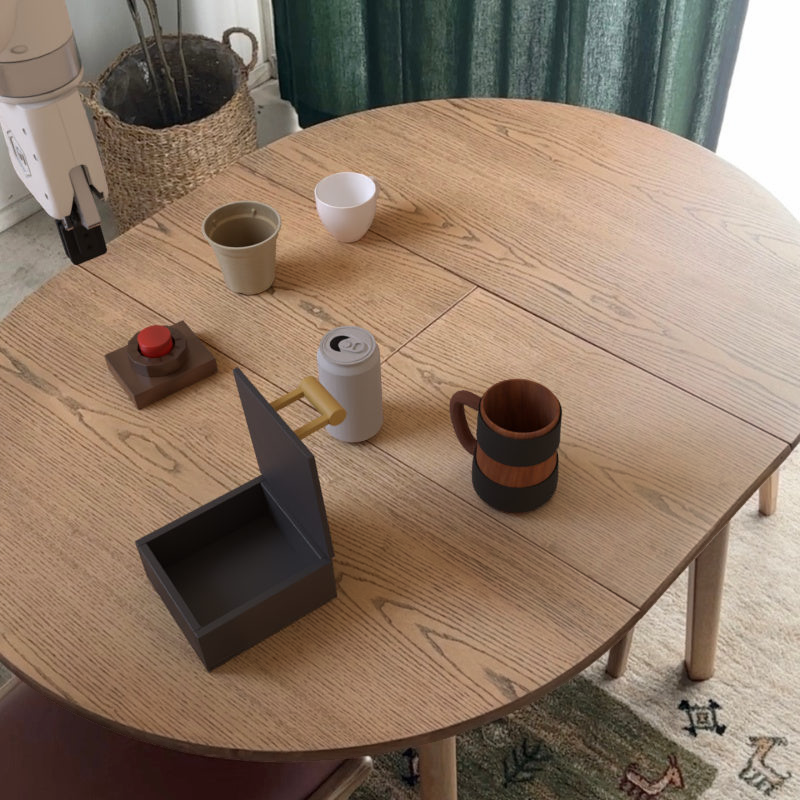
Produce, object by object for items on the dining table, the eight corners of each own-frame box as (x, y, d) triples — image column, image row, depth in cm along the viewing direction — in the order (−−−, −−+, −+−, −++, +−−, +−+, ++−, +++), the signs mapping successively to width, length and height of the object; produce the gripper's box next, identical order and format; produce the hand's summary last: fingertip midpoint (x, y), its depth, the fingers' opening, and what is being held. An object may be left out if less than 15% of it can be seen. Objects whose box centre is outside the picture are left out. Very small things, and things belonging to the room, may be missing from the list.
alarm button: (149, 363, 117) (146, 351, 115) (135, 345, 119) (131, 333, 117) (178, 349, 118) (175, 338, 117) (164, 331, 120) (161, 320, 119)
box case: (208, 673, 94) (197, 638, 90) (147, 577, 101) (134, 541, 97) (337, 596, 99) (332, 560, 95) (270, 510, 107) (263, 473, 102)
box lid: (308, 459, 84) (369, 424, 86) (231, 369, 91) (290, 339, 93) (329, 560, 95) (384, 526, 97) (260, 472, 102) (311, 443, 104)
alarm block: (138, 410, 117) (130, 384, 114) (108, 369, 121) (100, 343, 118) (218, 372, 120) (212, 346, 118) (186, 333, 125) (180, 308, 122)
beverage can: (339, 397, 117) (331, 316, 108) (393, 412, 115) (389, 331, 107) (314, 437, 113) (304, 356, 104) (369, 453, 111) (363, 372, 103)
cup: (306, 236, 137) (301, 193, 132) (356, 199, 143) (353, 156, 138) (351, 259, 134) (348, 215, 129) (401, 220, 139) (400, 177, 134)
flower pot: (304, 274, 132) (297, 217, 126) (253, 315, 127) (243, 258, 121) (248, 247, 136) (239, 191, 130) (197, 286, 131) (185, 229, 125)
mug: (471, 428, 113) (473, 348, 105) (571, 474, 109) (582, 395, 100) (427, 480, 109) (426, 402, 100) (530, 532, 104) (538, 453, 95)
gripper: (-54, 37, 82) (15, 229, 95) (16, 120, 73) (81, 318, 87) (38, 9, 85) (92, 199, 98) (116, 86, 76) (164, 282, 89)
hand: (87, 254), depth 92 cm, fingers closed
